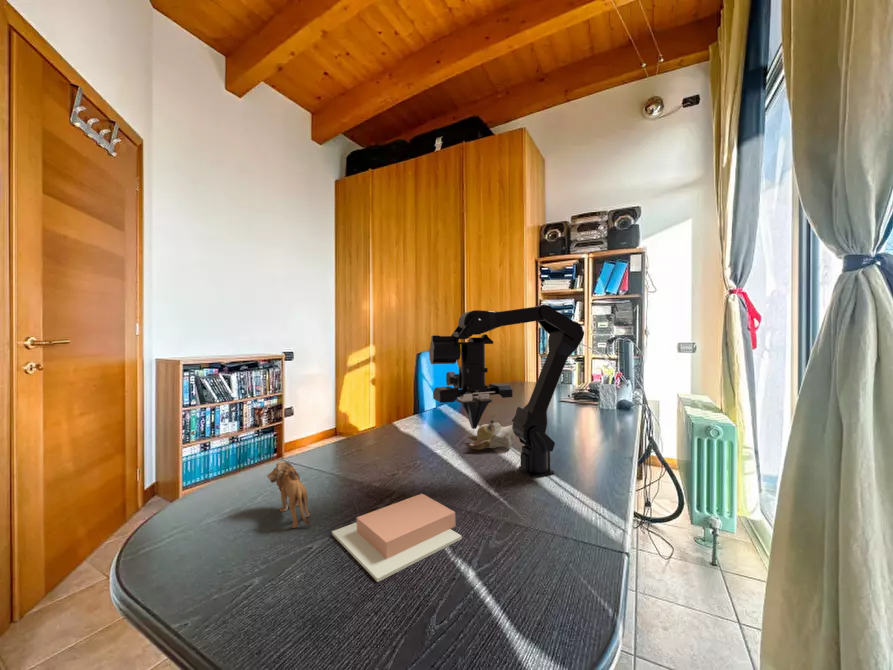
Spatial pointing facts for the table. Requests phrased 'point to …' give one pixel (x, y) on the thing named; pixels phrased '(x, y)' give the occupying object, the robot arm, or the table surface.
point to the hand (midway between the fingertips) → (473, 428)
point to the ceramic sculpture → (492, 436)
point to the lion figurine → (290, 490)
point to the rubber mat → (387, 567)
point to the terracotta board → (405, 524)
